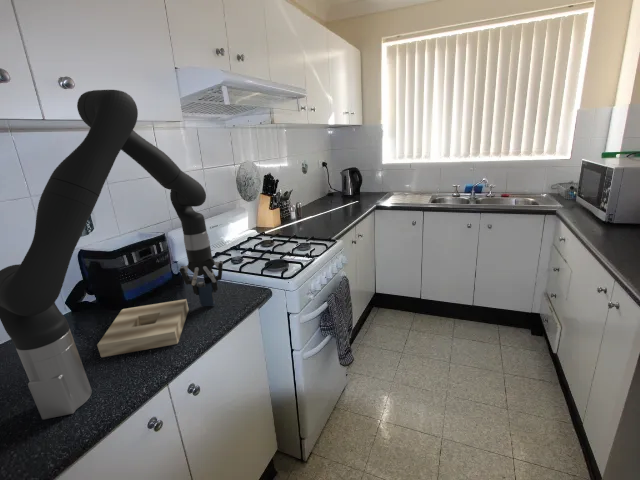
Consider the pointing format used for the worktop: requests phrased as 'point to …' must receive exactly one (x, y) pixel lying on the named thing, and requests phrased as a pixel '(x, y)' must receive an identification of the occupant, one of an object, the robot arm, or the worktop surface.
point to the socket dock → (144, 328)
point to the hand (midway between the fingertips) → (206, 292)
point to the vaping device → (206, 292)
